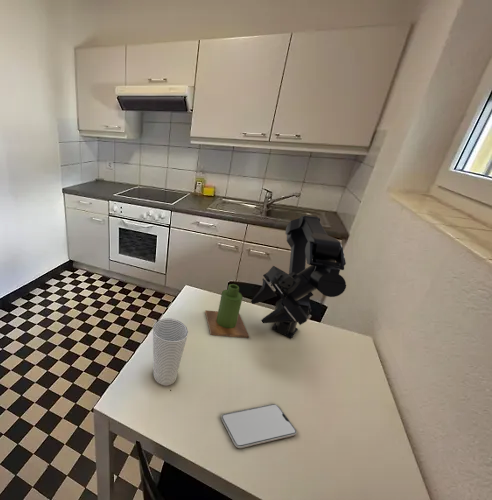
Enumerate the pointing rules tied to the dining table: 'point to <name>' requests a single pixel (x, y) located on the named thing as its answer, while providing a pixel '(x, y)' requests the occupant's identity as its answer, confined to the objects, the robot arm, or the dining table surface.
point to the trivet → (221, 331)
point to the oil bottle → (229, 307)
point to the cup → (168, 349)
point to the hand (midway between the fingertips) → (256, 311)
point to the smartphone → (257, 425)
